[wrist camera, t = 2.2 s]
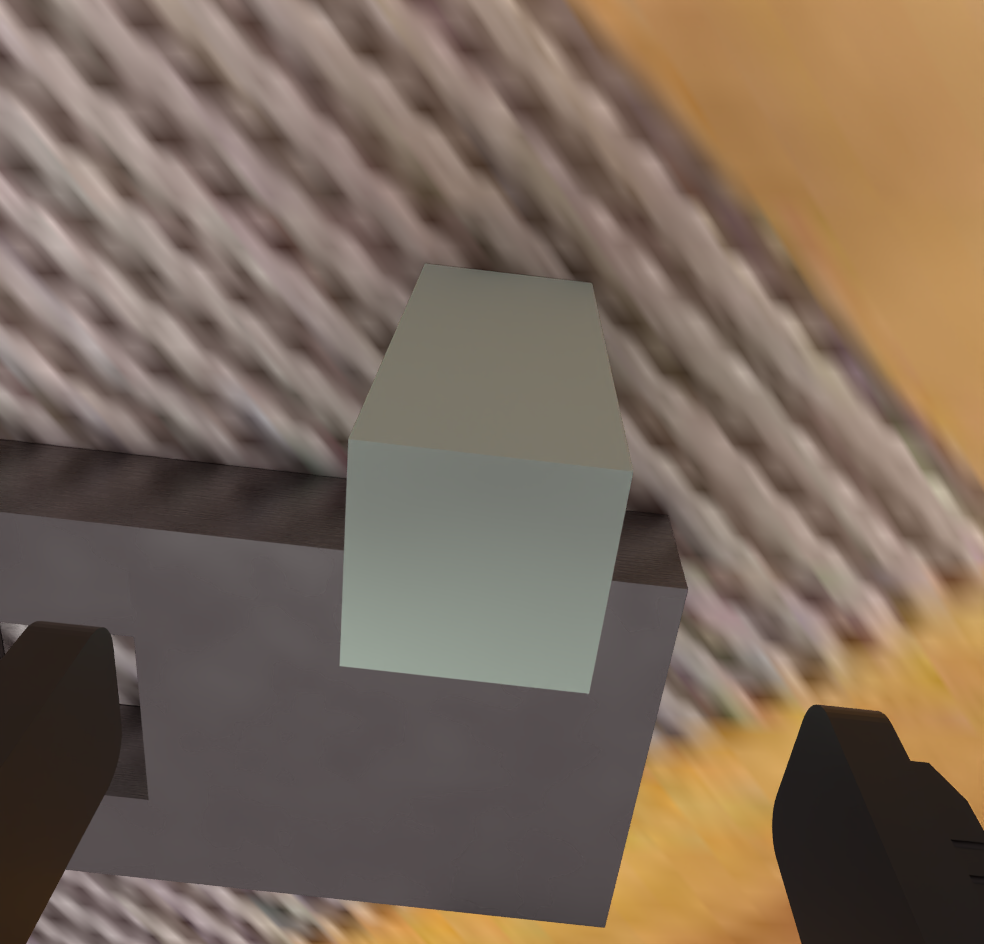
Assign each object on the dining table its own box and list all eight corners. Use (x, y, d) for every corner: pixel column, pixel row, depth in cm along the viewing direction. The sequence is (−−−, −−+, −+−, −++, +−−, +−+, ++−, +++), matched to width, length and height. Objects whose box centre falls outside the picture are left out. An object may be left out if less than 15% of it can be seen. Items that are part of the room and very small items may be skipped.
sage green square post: (591, 283, 22) (633, 472, 13) (567, 434, 23) (589, 693, 14) (425, 263, 22) (348, 438, 13) (413, 417, 23) (339, 666, 14)
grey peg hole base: (668, 515, 24) (688, 589, 21) (597, 831, 30) (604, 927, 27) (-154, 422, 24) (-257, 483, 21) (-75, 758, 29) (-147, 846, 26)
